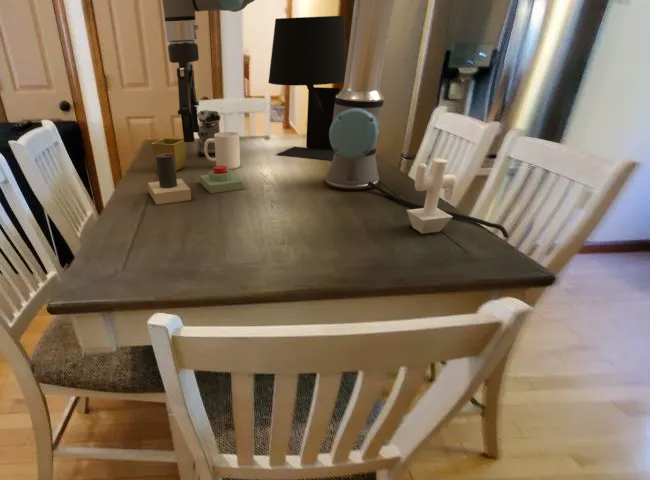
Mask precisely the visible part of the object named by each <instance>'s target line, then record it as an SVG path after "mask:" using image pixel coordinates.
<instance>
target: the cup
mask: <svg viewBox="0 0 650 480" xmlns="http://www.w3.org/2000/svg"><path fill="white" fill-rule="evenodd" d="M209 143H215V150H214V154H215V155H214V156H215V157H211V156H210V155H209V152H208V151H209V150H207V147H208V144H209ZM240 148H241V147H240V132H236V131H221V132H220V131H219V133H216V134H214V139H208V140H206V142H205V146H204V150H203V152H204V156H205V158H206V160H207V161H209V162H211V163H215V166H220V165H222V166H226V167H227V170H235V169H239V168H240V167H241V149H240Z"/></svg>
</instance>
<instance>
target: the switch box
mask: <svg viewBox="0 0 650 480" xmlns="http://www.w3.org/2000/svg"><path fill="white" fill-rule="evenodd" d="M199 182H200V185H202V187H204V188H205V190H206V191H208V193H210V194H217V193H222V192H223V193H224V192H230V191H231V192H232V191H238V190H243V188H244V185H243V184H244V182H243V180H242V179H240V178H239V177H238V176H236V175H235V174H234V173H233V171H232V169H227V173H225V174H214V172H213V170H209V171H208V173H207V174H203V175H199Z"/></svg>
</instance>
